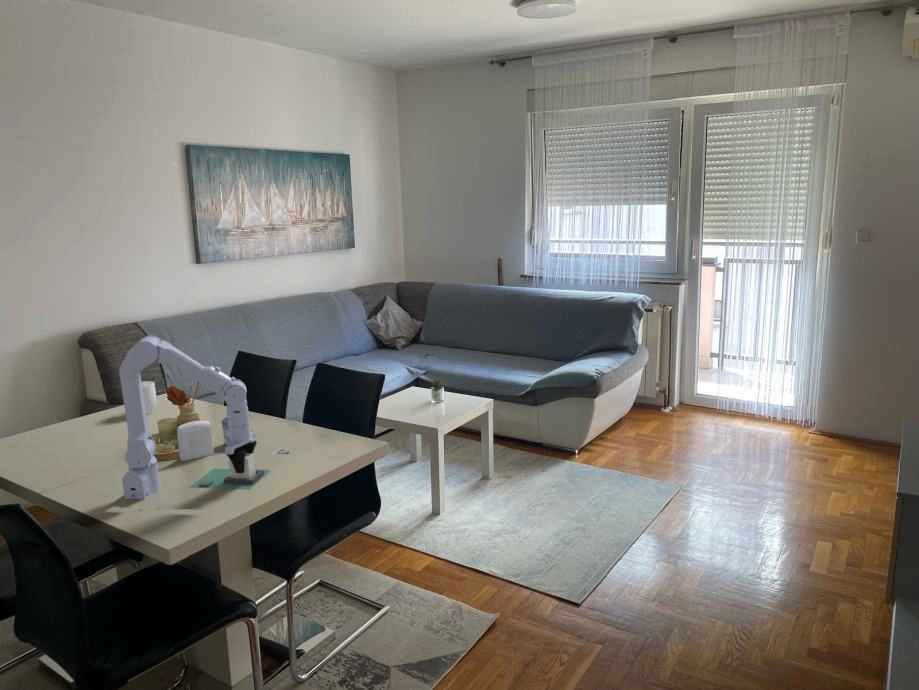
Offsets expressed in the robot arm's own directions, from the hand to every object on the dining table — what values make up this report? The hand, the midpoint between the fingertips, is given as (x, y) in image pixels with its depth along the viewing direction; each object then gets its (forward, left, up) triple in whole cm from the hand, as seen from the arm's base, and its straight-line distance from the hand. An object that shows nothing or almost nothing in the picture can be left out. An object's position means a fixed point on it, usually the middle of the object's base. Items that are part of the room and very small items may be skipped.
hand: (243, 469), depth 197 cm
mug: (+64, +73, -4) cm, 97 cm away
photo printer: (+17, +24, -4) cm, 30 cm away
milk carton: (+30, +18, -4) cm, 35 cm away
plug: (0, 0, -2) cm, 2 cm away
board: (0, +4, -4) cm, 6 cm away
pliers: (+18, +2, -4) cm, 19 cm away
